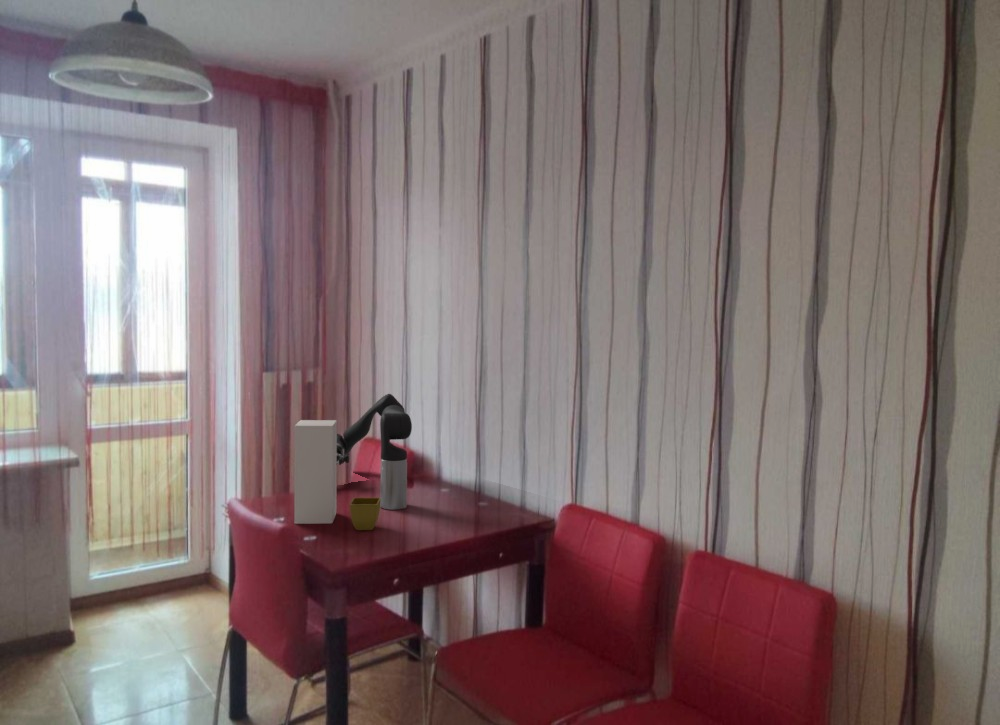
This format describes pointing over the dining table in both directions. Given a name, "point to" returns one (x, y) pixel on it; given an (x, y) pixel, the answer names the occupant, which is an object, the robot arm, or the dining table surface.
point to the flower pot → (364, 512)
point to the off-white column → (315, 471)
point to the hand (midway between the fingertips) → (328, 462)
